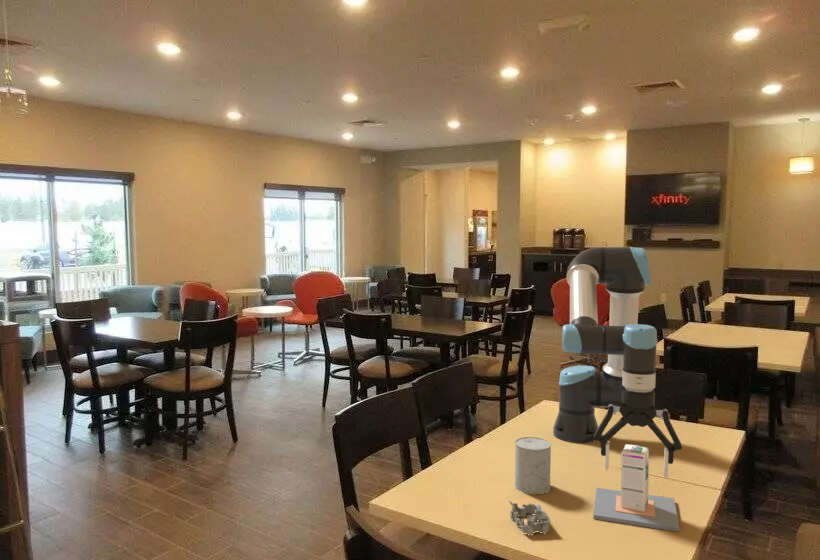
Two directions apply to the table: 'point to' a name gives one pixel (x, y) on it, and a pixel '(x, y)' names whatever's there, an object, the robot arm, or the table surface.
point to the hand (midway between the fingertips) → (635, 471)
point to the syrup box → (634, 477)
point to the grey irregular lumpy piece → (530, 518)
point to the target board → (655, 515)
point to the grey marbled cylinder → (532, 465)
